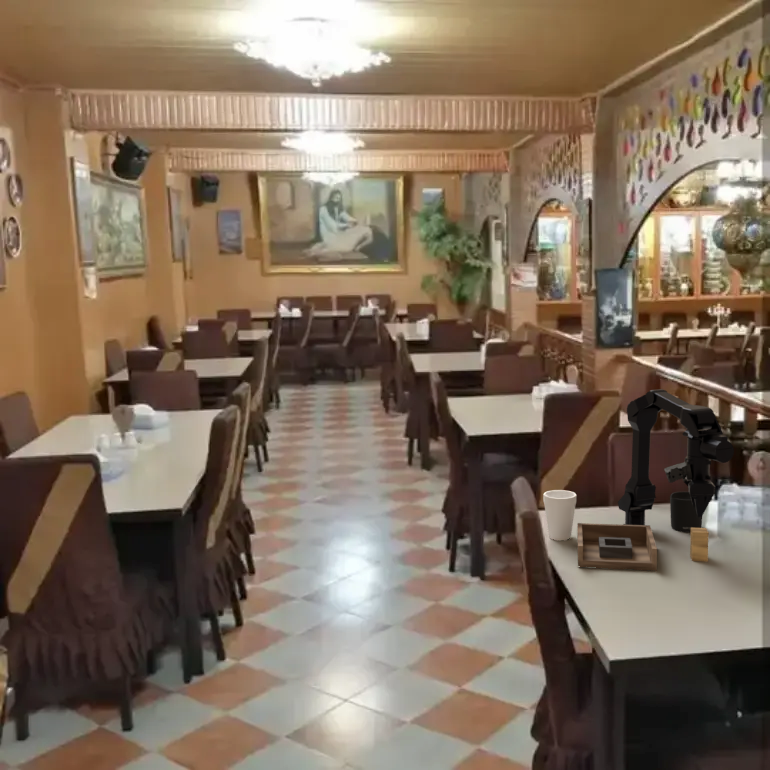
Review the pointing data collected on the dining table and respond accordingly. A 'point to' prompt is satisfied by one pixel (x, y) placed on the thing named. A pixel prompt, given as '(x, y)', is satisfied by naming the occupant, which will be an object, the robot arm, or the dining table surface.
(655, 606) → the dining table surface
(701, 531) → the wooden block
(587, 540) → the inlet box
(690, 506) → the pen holder
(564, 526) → the foam cup
